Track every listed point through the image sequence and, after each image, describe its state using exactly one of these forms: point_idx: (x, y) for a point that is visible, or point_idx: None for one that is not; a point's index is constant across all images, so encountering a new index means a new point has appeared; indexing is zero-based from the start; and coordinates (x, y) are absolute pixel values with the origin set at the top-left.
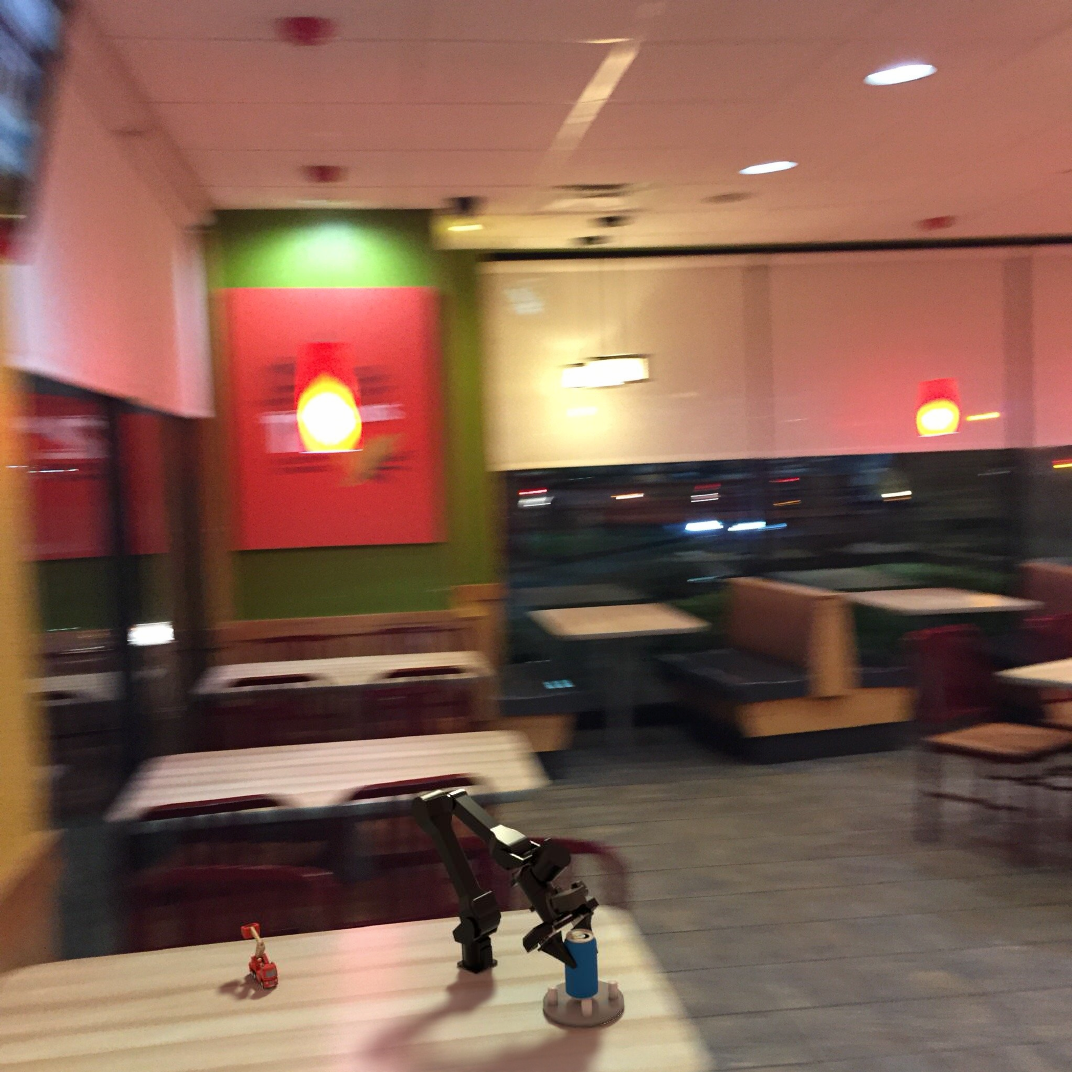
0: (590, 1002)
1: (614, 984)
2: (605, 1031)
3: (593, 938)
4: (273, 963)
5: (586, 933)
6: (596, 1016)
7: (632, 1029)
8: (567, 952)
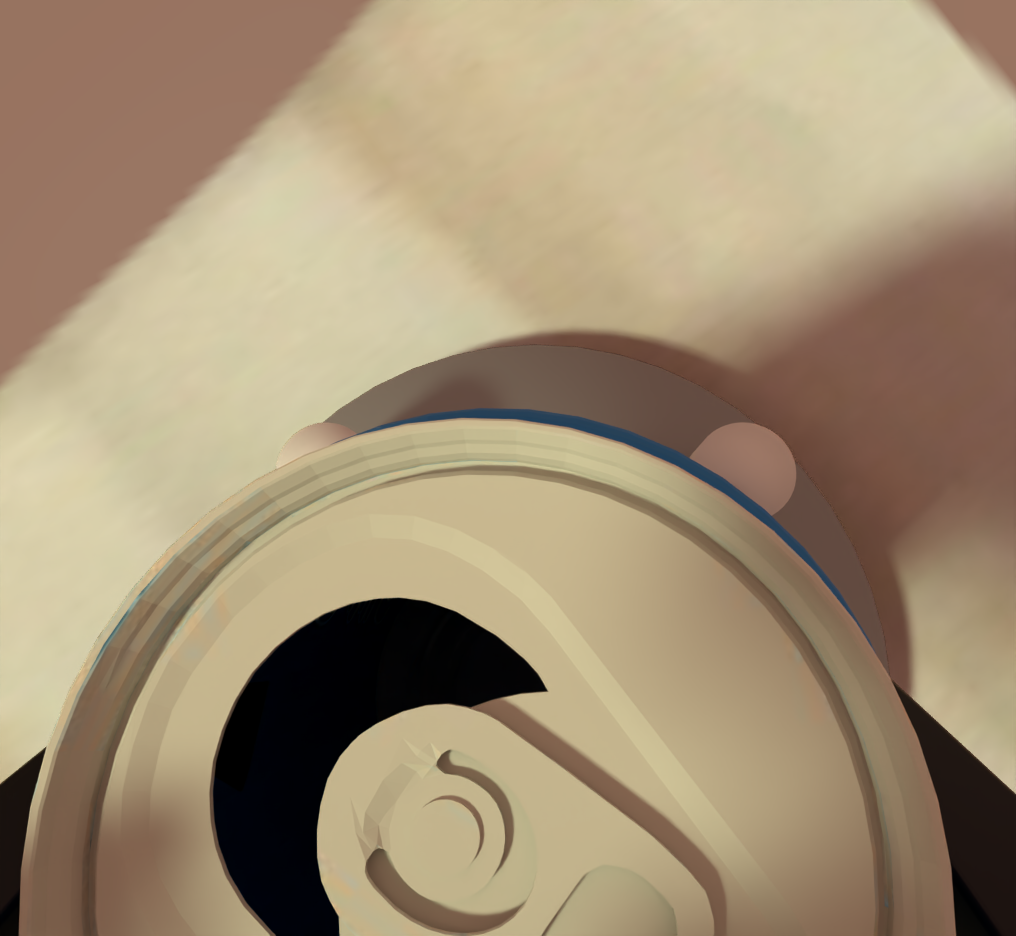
0: (741, 424)
1: (347, 433)
2: (722, 322)
3: (337, 467)
4: None
5: (196, 813)
6: (677, 427)
7: (588, 195)
8: (982, 819)
